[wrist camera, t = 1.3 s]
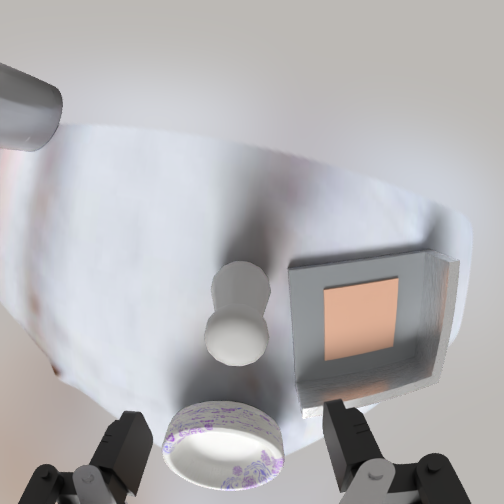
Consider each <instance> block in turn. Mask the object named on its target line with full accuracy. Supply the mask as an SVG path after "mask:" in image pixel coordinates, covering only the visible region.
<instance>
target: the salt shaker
mask: <svg viewBox="0 0 504 504" xmlns="http://www.w3.org/2000/svg"><path fill="white" fill-rule="evenodd" d="M211 293H212V299H213V305H214V310H215V312H214V313H213V314H212V316H211V317H210V318H209V319H208V322H207V325H206V330H205V334H204V336H205V342H206V346H207V349H208V351H209V353H210V354H211V355H212V356H213V357H214V358H215V359H216V360H218V361H220V362H222V363H224V364H226V365H228V366H244V365H247V364H251V363H254V362H255V361H256V360H258V359H259V358H260V357H261V356H262V355H263V354H264V352H265V349H266V347H267V344H268V341H269V334H268V329H267V324H266V321H265V320H264V318H263V315H264V312H265V309H266V306H267V303H268V300H269V296H270V293H271V289H270V284H269V279H268V278H267V276H266V275H265V273H264V272H263V270H262V269H261V268H260V267H258V266H256V265H254V264H252V263H250V262H246V261H234V262H232V263H229V264H227V265H224V266H223V267H222V268H221V269H220V270H219V271H218V272H217V274H216V275H215V276H214V278H213V282H212V286H211Z"/></svg>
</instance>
